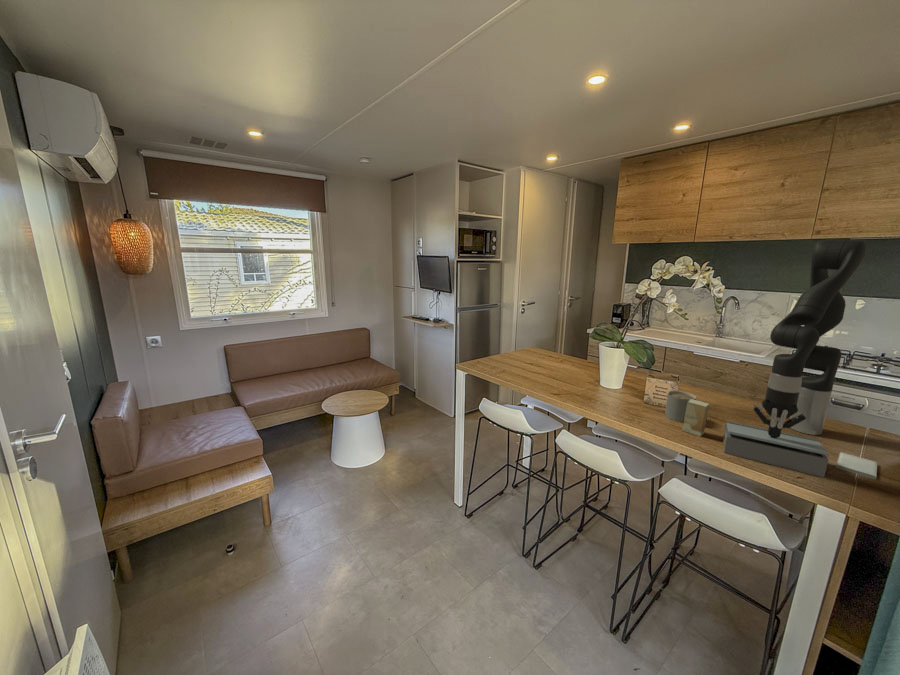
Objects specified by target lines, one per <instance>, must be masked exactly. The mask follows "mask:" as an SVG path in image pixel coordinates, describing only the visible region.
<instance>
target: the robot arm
mask: <svg viewBox="0 0 900 675" xmlns="http://www.w3.org/2000/svg"><path fill="white" fill-rule="evenodd" d="M866 251H867V244H866V242H865V241H864V240H859V239H821V240H818V241H817V243H816V244H814V246H813V250H812V252H811V256H810V257H811V258H810V273H809V274H810V276H809V277H810V278H809V280H810V281H809V288H808V289H807V290H805V291H804V292H803V293H802V294H801V295H800V296H799V297H798V300H797V301H796V302H795V304H794V306H793V308H792V310H791V311H790V312H789V313H788V314H787V315H785V317H784V318H782V320H781V321H779V322H778V323H777V324H776V325H775V326H774V327H773V329H772V330H771V333H770V336H769V337H770V341H771V342H772V343H773V344H774V345H775V346H778V347H784V348H790V349H795V350H796V352H795V353H778V354H776V355H775V356H774V358H773V362H772V366H771V367H772V368H771V372H770V375H769V378H768V381H767V387H766V392H765V397H764V400H763V401H762V402H761V404H759V405H755V404H754V405H753V406H752V408H753V411H754V413H755V414H756V415H757V416H758V418H759V419H760V420H761V422H762V423H763V424H764V425H768V428H767V430H768V434H769V435H770V437H771V438H776V439H777V437H780V434H781V432H782V429H792V430H793V431H796V432H799V433H802V434H807V435H813V436H819V435H821V434H822V433H823V430H824V425H825V422H826V417H827V413H828V409H829V405H830V400H831V396H832V393H833V389H834V388H833V387H834V382H835V378H836V374H837V372H838V368H839V365H840V362H841V359H842V351H841V349H839V348H838V347H833V346H832V347H831V346H823V345H817V344H818V342H819V341H820V338H821V337H822V336H824V335H825V334H827V333H828V332H830V331H831V330H833V329H834V328H836V327H837V326H839V324H841V322H842V321H843V319H844V314H845V309H846V305H847V304H846V299H845V297H844V296H843V294H842V293H841V292H840V291H841V289H842V288H843V287H844V285H845V284H846V283H847V282H848V280H850V278H851V277H852V276H853V275H854V273H855V271H856V270H857V269H858V268H859V266H860V265H861V264H862V261H863V260H864V257H865V255H866ZM828 270H832V271H833V270H834V271H835V272H834V273H833V274H831V275H829V272H828ZM804 369H806V370H807V369H808V370H812V371H819V372H823V373H821V374H818V375H812V376H810V375H809V376H803V374H804ZM763 409H764V410H765V412H766V414H768V415H769V419H768V418H767V417H766V416H765V414H764V413H763V412H764V410H763ZM788 418H789V419H788ZM786 419H787V420H786Z"/></svg>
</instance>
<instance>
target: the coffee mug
mask: <svg viewBox="0 0 900 675" xmlns="http://www.w3.org/2000/svg"><path fill="white" fill-rule="evenodd" d="M690 399H693V400H697V396H696V395H694V394H692V393H690V392H687V391H681V390H669V391H668V392H667V396H666V404H665V409H664V417H665V418H667V419H669V420H672V421H673V420H674V422H677V421H678V422H677V423H683V422H684V419H685V413H686V408H687V403H688V401H689V400H690Z"/></svg>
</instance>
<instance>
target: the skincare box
mask: <svg viewBox="0 0 900 675" xmlns="http://www.w3.org/2000/svg"><path fill="white" fill-rule="evenodd" d="M710 405H711V404H710V403H709V402H704V401H702V400H697V399H696V400H693V399H690V400H689V401H688V403H687V408H686V413H685V419H684V423H683V425H682V430H681V431H683V432H685V433H688V434H691V435H695V436H698V437H702V436H703V435H704V434H705V429H706V424H707V420H708V415H709V410H710Z"/></svg>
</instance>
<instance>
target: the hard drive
mask: <svg viewBox="0 0 900 675" xmlns="http://www.w3.org/2000/svg"><path fill="white" fill-rule="evenodd" d="M835 468H836V469H839V470H843V471H845V472H850V473H853V474H857V475H859V476H863V477H866V478H869V479H872V480H876V479H877V472H878V462H877V461H875V460H870V459H867V458H863V457H860V456H857V455H853V454H849V453H845V452H839V455H838V457H837V462H836V465H835Z"/></svg>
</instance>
